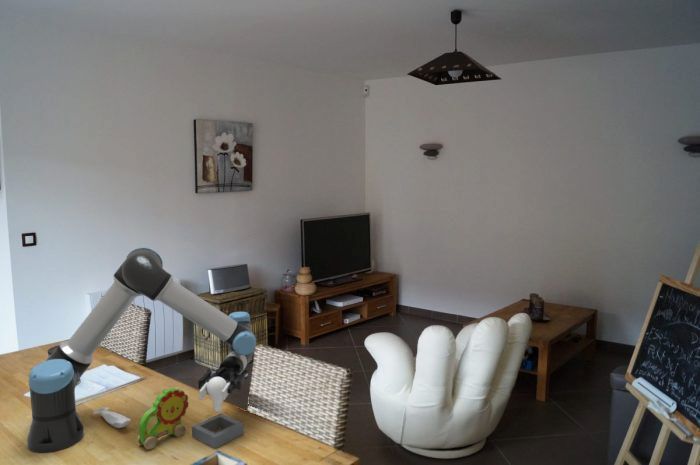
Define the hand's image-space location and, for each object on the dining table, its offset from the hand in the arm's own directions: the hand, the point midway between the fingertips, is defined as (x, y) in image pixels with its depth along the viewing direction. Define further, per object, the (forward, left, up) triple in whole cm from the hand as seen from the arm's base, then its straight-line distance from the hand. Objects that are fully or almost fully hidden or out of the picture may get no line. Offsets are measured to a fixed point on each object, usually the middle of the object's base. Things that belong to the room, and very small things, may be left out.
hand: (211, 395), depth 159 cm
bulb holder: (+4, +3, -15) cm, 16 cm away
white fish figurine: (-12, +36, -16) cm, 41 cm away
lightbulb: (+4, +3, -8) cm, 9 cm away
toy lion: (-7, +14, -16) cm, 22 cm away
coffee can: (-7, +81, -15) cm, 83 cm away
